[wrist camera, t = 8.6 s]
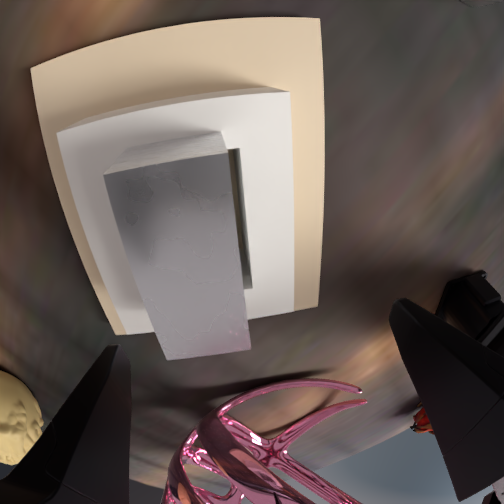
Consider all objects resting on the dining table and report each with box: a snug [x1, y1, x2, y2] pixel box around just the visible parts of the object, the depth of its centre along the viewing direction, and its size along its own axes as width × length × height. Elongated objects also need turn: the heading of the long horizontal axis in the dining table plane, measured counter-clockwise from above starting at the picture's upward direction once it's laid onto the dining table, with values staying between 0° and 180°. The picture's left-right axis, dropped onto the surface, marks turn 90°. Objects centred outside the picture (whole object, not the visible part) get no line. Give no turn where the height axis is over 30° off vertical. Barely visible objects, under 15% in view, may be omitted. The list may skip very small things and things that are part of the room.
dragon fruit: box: [410, 402, 434, 434], centre depth 41 cm, size 8×8×12 cm
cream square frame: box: [31, 17, 324, 335], centre depth 17 cm, size 20×16×5 cm
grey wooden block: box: [103, 132, 251, 360], centre depth 15 cm, size 9×4×8 cm, turn 4°
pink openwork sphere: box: [161, 378, 367, 504], centre depth 24 cm, size 28×28×27 cm
